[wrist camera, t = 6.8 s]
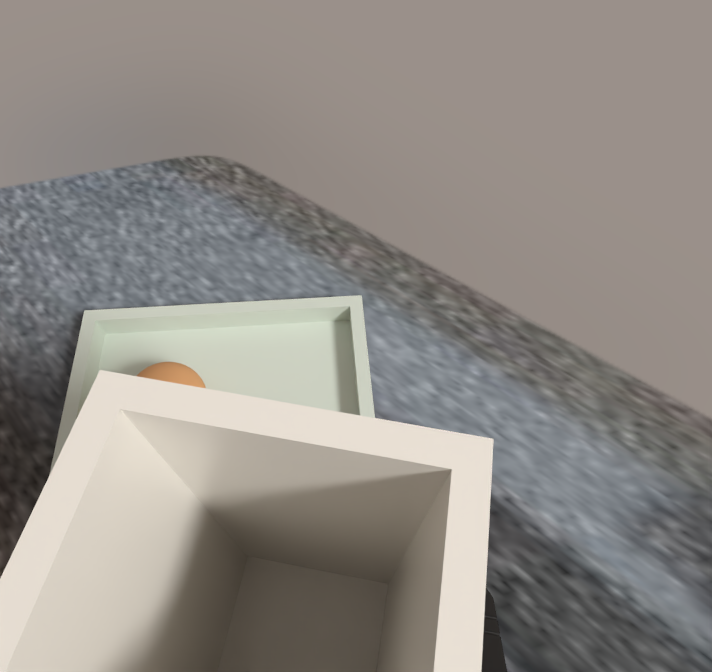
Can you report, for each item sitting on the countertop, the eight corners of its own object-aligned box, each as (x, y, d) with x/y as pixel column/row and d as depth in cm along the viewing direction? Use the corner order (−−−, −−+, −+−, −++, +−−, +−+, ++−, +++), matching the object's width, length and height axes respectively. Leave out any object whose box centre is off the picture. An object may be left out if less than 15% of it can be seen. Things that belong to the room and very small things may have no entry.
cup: (184, 742, 15) (-160, 912, 5) (239, 540, 18) (100, 369, 8) (378, 786, 15) (459, 1072, 4) (404, 572, 17) (493, 438, 7)
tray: (57, 547, 22) (35, 538, 20) (98, 330, 27) (84, 310, 26) (382, 521, 23) (385, 510, 21) (360, 316, 28) (361, 295, 26)
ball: (106, 425, 21) (189, 416, 21) (118, 352, 22) (195, 343, 22) (141, 454, 23) (215, 445, 23) (150, 386, 25) (218, 378, 25)
